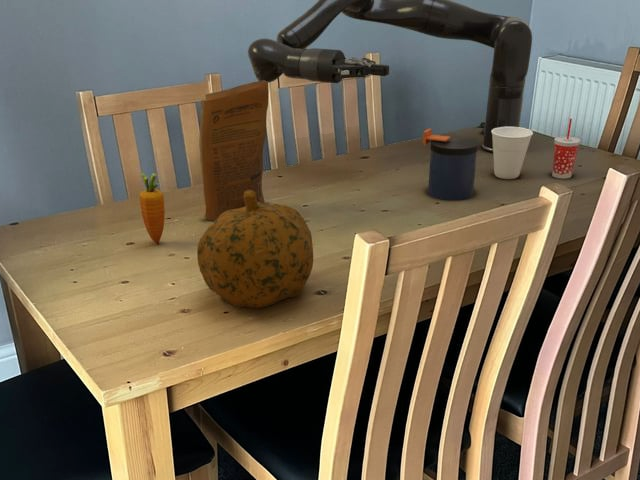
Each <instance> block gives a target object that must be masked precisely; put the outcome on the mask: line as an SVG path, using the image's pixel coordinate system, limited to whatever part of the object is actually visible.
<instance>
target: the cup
mask: <svg viewBox="0 0 640 480" xmlns="http://www.w3.org/2000/svg"><path fill="white" fill-rule="evenodd" d="M491 132H492V139H493V152H492V153H493V157H492V158H493V174H494V175H495V177H497V178H498V179H502V180H514V179H517V178H519V176H520V175H521V172H522V167H523V165H524V161H525V158H526V155H527V152H528V148H529V146H530V142H531V139H532V136H533V135H534V132H533V130H531V129H528V128H527V127H521V126H520V127H498V128H495V129H493V130H492V131H491Z"/></svg>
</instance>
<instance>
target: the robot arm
mask: <svg viewBox="0 0 640 480" xmlns="http://www.w3.org/2000/svg"><path fill="white" fill-rule="evenodd" d="M341 13H342V15H344V16H346V17H348V18H351V19H354V20H360V21H365V22H372V23H379V24H384V25H390V26H393V27H397V28H401V29H405V30H409V31H414V32H417V33H420V34H424V35H426V36H430V37H434V38H438V39H439V38H440V39H446V40H457V41H469V42H470V41H471V42H474V43H478V44H480V45H483V46H487V47H489V48H492V49H493V57H492V65H491V70H490V74H489V84H488V94H487V95H488V96H487V104H486V111H485V112H486V114H485V121H482V122H480V123H479V127H483V126H484V128H483V129H481V133H482V134H483V140H482V146H481V148H482V150H484V151H487V152H490V153H493V139H492V132H491V131H492V130H493V129H495V128H498V127H521V126H520V125H521V120H522V119H521V118H522V112H523V111H522V110H523V103H524V95H525V87H526V80H527V76H528V73H529V67H530V61H531V55H532V54H531V53H532V47H533V33H532V30H531V27H530V26H529V25H528V24H527V22H526V21H525V20H524V19H522V18H520V17H517V16H510V15H502V14H501V15H500V14H495V13H494V14H493V13H490V12H489V13H488V12H484V11H480V10H477V9H475V8H473V7H470V6H468V5H464V4H463V3H459V2H457V1H453V0H318V1H316V2H315V3H314V4H313V5H312V6H311V7H310V8H309V9H307V11H305V12H304V13H302V15H300V16H299V17H297V18H296V19H295V20H293V21H292V22H290V23H289V24H288V25H286V26H285V27H284V28H283V29H281V30H280V31H279V32H278V33H277V35H276V40H275V39H272V38H267V37H266V38H258V39H255V40H254V41H252V42H251V43H250V44H249V46H248V48H247V56H248V59H249V63H250V64H251V68H252V71H253V73H254V76H255V78H256V79H257V81H263V80H265V81H267V82H268V84H269V83H272V82H275V81H276V80H278V79H279V78H280V77H281V76H282V75H284V76H285V77H287V78H289V79H297V80H305V81H306V80H307V81H310V82H318V83H326V84H327V83H328V84H329V83H330V84H339V83H340V82H341V81H342V80H344V79H356V78H367V77H372V76H378V77H386V76H389V75H390V65H388V64H378V63H376V61H375V60H372V59H369V58H366V57H363V58H361V59H360V58H359V59H358V58H357V57H348V59H347V58H346V56H345V53H344V52H343V51H342V50H341V49H330V48H317V47H316V48H315V47H314V48H309V46H311V45H312V44H313V43H314V42H316V41H317V40H318V39H319V38H320V36H321V35H322V34H323V33H324V32H325V31H326V29H327V28H328V27H329V26H330V25H331V24H332V23H333V21H334V20H335V19H336V18H337V17H338V16H339V15H340V14H341Z"/></svg>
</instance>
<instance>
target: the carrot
mask: <svg viewBox="0 0 640 480" xmlns="http://www.w3.org/2000/svg"><path fill="white" fill-rule="evenodd" d="M140 175H141V178H142V179H143V181H144V182H143V183H144V186H145V188H146V189H144V190H142V191H141V193H140V194H139V203H140V211H141V216H142V217H141V218H142V220H143V223H144V226H145V229H146V232H147V233H148V235H149V237H150V239H151V240H152V242H153V243H155V244H156V245H158V244H159V243H160V240H161V239H162V236H163V233H164V228H165V219H166V218H165V216H166V213H165V212H166V211H165V210H166V209H165V196H164V192H163V191H162V190H160V189H157V187H158V186H159V183H158V182H155V181H156V178H157V176H158V174H156V173H152V174H151V176H150V179H149V178H148V176H146V175H145V173H141V174H140Z"/></svg>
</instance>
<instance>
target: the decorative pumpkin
mask: <svg viewBox="0 0 640 480" xmlns="http://www.w3.org/2000/svg"><path fill="white" fill-rule="evenodd" d="M243 197H244V202H245V205H246V206H245V207H242V208H238V209H231V210H228V211H225V212H223V213H222V214H221V215H220V216H219V217H218V219H217V220H214V222H212V223H211V224H210V225H209V226H208V227H207V228H206V230H205V231H204V233H203V234H202V235H201V237H200V238H199V241H198V244H197V250H196V252H197V253H196V255H197V265H198V267H199V272H200V273H201V276H202V278H203V281H204V283H205V284H206V286H207V287H208V289H209V290H211V291H212V292H214V293H215V294H217V295H218V296H219V297H220V298H221V299H222V300H223V301H225V302H227V303H229V304H231V305H234V306H237V307H240V308H241V307H242V308H243V307H244V308H245V307H246V308H254V309H255V308H256V309H258V308H259V309H260V308H261V309H262V308H267V307H269V306H272V305H274V304H277V303H278V302H280V301H282V300H285V299H289V298H292V297H293V298H294V297H296V296H297V295H298V294H300V293H301V292H302V291H303V289H304V287H305V286H306V284H307V281H308V280H309V278H310V275H311V273H312V270H313V267H314V246H313V245H314V244H313V237H312V232H311V230H310V228H309V226H308V224H307V222H306V220H305V218H304V217H303V215H302V214H301V213H300V212H299V211H298V210H297V209H295V208H292V207H291V206H287V205H283V204H279V203H274V204H272V205H271V204H267V203H265V204H264V203H260V202H258V201H257V198H256V193H255V192H254V191H253V190H246V191H245V192H244V194H243Z"/></svg>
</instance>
